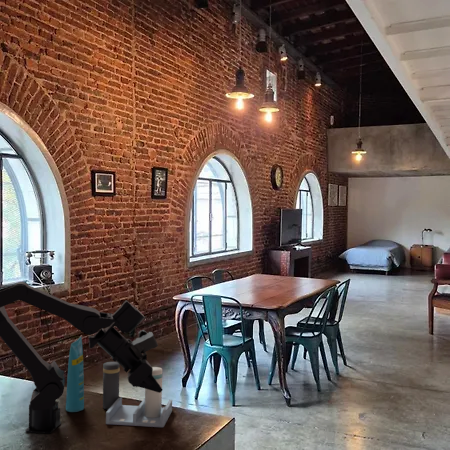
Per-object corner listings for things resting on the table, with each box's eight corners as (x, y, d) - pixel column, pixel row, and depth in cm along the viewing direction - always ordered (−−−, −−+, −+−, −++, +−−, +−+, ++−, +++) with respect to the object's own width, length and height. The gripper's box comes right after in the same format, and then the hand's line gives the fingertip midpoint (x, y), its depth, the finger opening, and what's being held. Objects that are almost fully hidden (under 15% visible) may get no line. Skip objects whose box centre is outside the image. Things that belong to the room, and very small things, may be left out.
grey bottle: (100, 409, 137) (100, 366, 137) (105, 403, 142) (106, 361, 142) (116, 410, 137) (116, 366, 137) (121, 404, 141) (121, 362, 141)
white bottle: (144, 418, 129) (145, 371, 129) (144, 411, 134) (145, 367, 134) (161, 417, 130) (163, 371, 130) (160, 411, 135) (162, 366, 135)
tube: (80, 414, 133) (81, 343, 133) (62, 414, 133) (63, 342, 133) (87, 404, 141) (88, 336, 141) (69, 403, 141) (70, 336, 140)
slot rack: (105, 424, 128) (106, 412, 127) (119, 407, 138) (119, 397, 138) (163, 427, 126) (163, 415, 126) (172, 410, 137) (172, 399, 137)
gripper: (143, 331, 122) (187, 373, 125) (136, 316, 140) (174, 353, 143) (110, 365, 120) (155, 407, 123) (106, 345, 138) (146, 382, 141)
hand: (158, 385), depth 132 cm, fingers open, 9 cm apart
